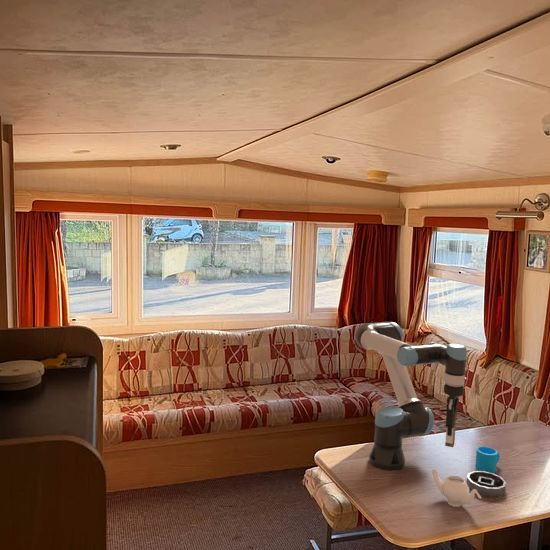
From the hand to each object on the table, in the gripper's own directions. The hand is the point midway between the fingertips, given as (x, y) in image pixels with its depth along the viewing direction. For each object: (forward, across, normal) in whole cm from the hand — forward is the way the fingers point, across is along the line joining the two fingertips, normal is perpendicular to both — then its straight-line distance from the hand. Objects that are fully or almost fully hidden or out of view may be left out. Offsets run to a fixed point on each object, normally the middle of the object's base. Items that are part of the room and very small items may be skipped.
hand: (449, 440), depth 213 cm
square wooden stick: (+2, 0, 0) cm, 2 cm away
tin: (+17, +3, -14) cm, 22 cm away
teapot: (+17, -16, -6) cm, 24 cm away
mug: (+17, +22, -13) cm, 31 cm away
